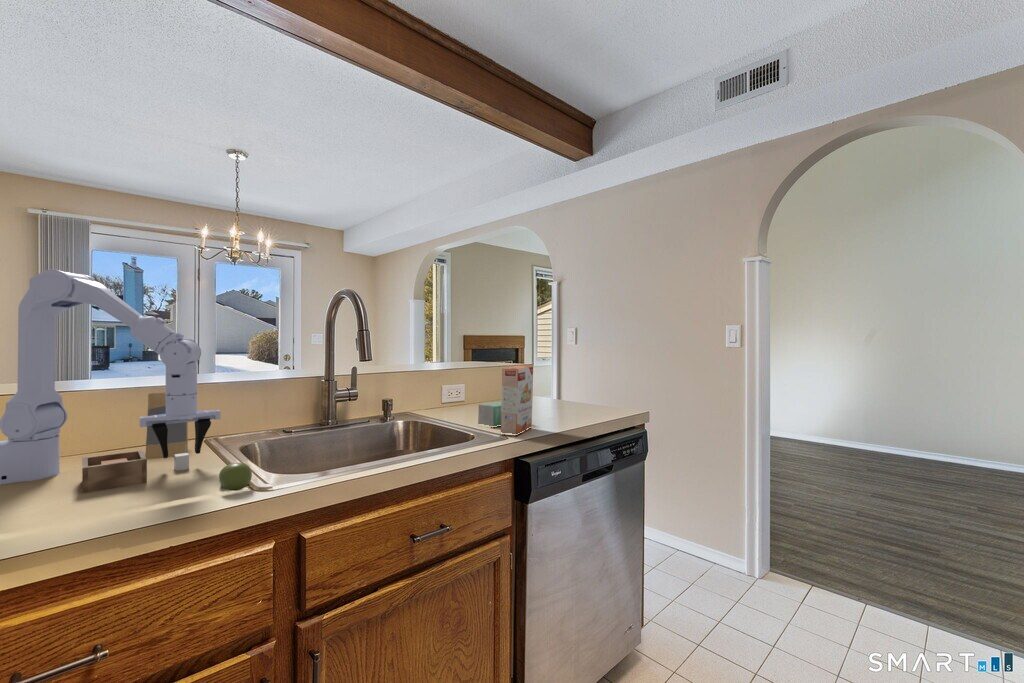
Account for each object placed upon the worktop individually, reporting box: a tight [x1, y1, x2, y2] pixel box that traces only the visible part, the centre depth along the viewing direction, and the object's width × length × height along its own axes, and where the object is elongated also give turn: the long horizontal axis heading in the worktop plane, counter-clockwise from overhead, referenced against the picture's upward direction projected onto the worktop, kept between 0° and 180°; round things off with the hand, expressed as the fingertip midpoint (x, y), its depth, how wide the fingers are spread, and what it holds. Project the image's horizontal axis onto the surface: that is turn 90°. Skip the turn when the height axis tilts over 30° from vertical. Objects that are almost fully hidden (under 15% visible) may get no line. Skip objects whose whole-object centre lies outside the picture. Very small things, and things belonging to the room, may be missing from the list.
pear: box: [218, 462, 253, 492], centre depth 95 cm, size 6×5×10 cm
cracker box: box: [500, 365, 534, 434], centre depth 150 cm, size 14×6×21 cm, turn 158°
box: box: [477, 400, 502, 426], centre depth 162 cm, size 7×14×8 cm, turn 140°
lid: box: [173, 452, 190, 472], centre depth 104 cm, size 10×10×4 cm
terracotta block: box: [101, 458, 127, 465], centre depth 95 cm, size 4×4×4 cm
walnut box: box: [81, 449, 148, 494], centre depth 95 cm, size 10×10×6 cm
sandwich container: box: [144, 392, 189, 460], centre depth 118 cm, size 9×15×15 cm, turn 35°
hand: (181, 455), depth 104 cm, fingers open, 5 cm apart
